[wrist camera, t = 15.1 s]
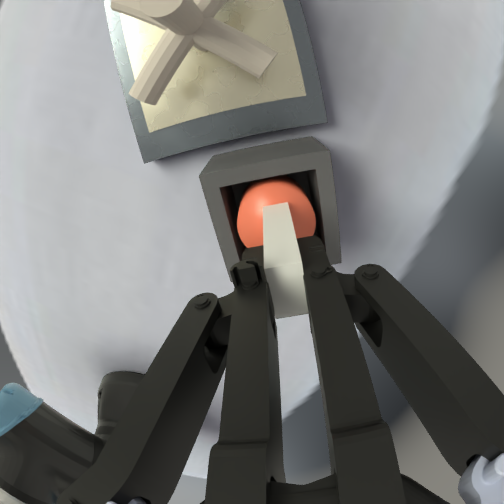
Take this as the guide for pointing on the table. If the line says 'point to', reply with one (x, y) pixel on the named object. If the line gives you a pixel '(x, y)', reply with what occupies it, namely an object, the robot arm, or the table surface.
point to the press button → (270, 194)
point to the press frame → (222, 81)
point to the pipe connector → (189, 41)
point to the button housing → (263, 166)
